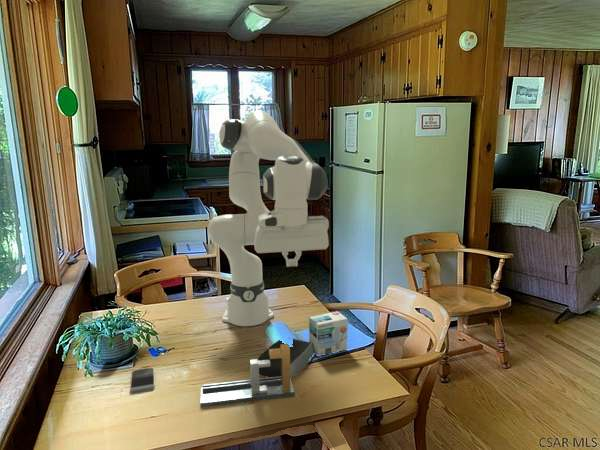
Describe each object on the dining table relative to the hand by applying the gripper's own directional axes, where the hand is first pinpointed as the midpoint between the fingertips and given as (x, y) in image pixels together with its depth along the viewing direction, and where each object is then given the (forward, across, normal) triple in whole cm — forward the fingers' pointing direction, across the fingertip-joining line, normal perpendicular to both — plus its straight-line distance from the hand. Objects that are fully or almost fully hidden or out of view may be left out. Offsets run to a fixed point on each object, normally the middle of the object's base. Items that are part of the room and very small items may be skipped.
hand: (291, 266), depth 124 cm
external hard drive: (+32, +2, -4) cm, 32 cm away
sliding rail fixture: (+31, +14, +10) cm, 36 cm away
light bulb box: (+31, -13, -9) cm, 35 cm away
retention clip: (+30, +11, +12) cm, 34 cm away
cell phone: (+32, +42, -2) cm, 53 cm away
